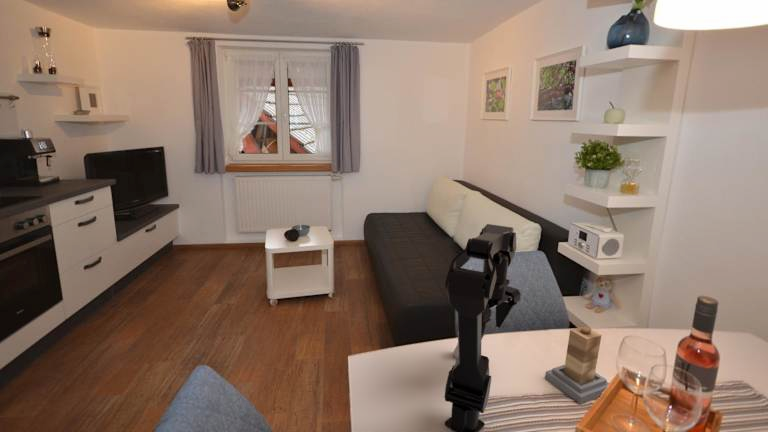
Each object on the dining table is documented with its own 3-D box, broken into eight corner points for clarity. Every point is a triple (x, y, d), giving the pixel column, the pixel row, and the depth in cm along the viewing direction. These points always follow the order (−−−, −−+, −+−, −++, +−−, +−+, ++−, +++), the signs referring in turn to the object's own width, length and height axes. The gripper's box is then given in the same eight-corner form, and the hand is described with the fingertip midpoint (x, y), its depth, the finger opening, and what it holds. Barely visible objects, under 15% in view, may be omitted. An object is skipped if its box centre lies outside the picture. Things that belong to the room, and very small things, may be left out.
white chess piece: (469, 361, 117) (471, 336, 115) (452, 359, 118) (454, 333, 116) (469, 353, 121) (471, 327, 119) (453, 351, 122) (455, 325, 120)
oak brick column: (579, 386, 104) (587, 334, 101) (563, 375, 109) (570, 325, 105) (593, 381, 106) (602, 330, 103) (577, 370, 111) (584, 321, 107)
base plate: (580, 404, 101) (582, 392, 100) (545, 378, 110) (546, 367, 110) (611, 392, 105) (613, 381, 105) (574, 368, 115) (576, 357, 114)
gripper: (486, 258, 115) (481, 310, 118) (444, 275, 102) (440, 334, 105) (524, 269, 107) (518, 325, 111) (485, 290, 94) (479, 352, 98)
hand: (488, 333), depth 106 cm, fingers open, 9 cm apart
